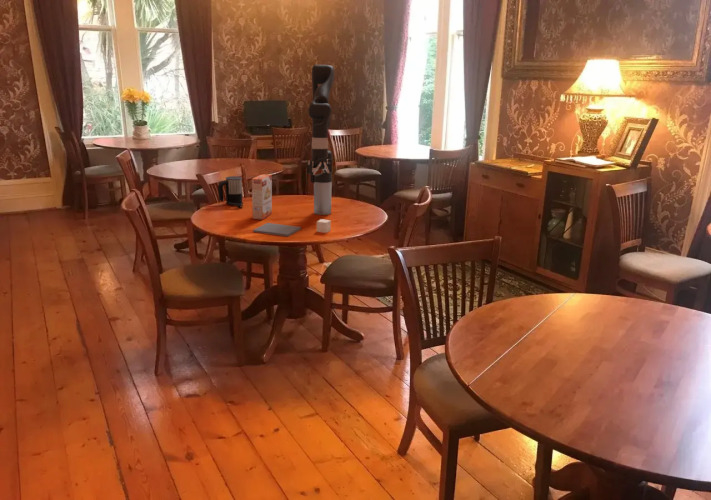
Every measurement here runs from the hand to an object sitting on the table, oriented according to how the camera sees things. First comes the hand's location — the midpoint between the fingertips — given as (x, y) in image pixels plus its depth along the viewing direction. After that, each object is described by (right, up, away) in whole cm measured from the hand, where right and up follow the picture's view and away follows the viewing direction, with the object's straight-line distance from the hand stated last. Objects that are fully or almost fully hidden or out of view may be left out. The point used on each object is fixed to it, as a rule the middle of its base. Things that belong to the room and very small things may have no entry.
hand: (319, 181), depth 268 cm
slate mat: (-20, -23, 0) cm, 31 cm away
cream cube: (+2, -23, +1) cm, 23 cm away
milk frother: (-49, -8, +45) cm, 67 cm away
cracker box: (-31, -15, +24) cm, 42 cm away
